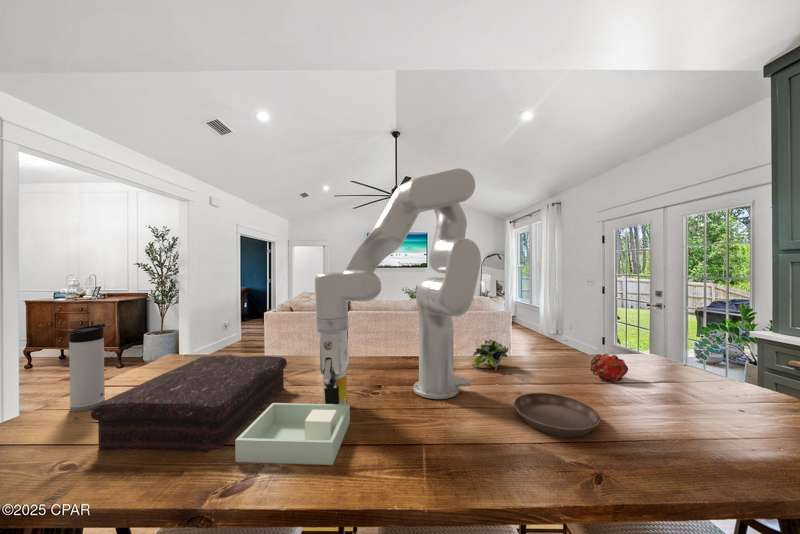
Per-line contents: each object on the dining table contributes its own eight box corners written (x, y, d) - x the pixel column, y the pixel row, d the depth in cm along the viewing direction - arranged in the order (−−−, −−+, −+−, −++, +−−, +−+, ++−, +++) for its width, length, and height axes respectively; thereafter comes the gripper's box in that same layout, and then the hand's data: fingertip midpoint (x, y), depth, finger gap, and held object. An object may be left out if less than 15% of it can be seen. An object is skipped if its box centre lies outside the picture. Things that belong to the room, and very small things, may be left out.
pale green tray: (349, 424, 74) (349, 404, 74) (332, 467, 58) (332, 442, 58) (272, 422, 74) (272, 402, 74) (235, 465, 59) (235, 440, 59)
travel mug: (111, 403, 85) (110, 324, 84) (77, 414, 79) (76, 329, 78) (98, 399, 87) (97, 322, 87) (65, 409, 81) (63, 327, 81)
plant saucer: (615, 446, 66) (615, 431, 66) (521, 437, 69) (521, 423, 69) (583, 407, 83) (583, 395, 83) (509, 402, 86) (509, 390, 86)
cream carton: (336, 434, 68) (336, 409, 68) (330, 447, 63) (330, 421, 63) (312, 433, 69) (312, 409, 69) (304, 447, 64) (304, 421, 64)
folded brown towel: (220, 457, 62) (219, 404, 62) (88, 454, 63) (87, 401, 63) (288, 387, 96) (288, 353, 96) (201, 386, 97) (201, 352, 97)
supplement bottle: (351, 406, 80) (350, 364, 80) (330, 413, 77) (329, 369, 76) (340, 398, 85) (338, 359, 84) (320, 405, 81) (318, 364, 81)
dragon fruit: (586, 383, 103) (623, 388, 104) (603, 375, 96) (642, 380, 97) (580, 356, 108) (615, 361, 109) (596, 347, 101) (633, 352, 102)
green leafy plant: (489, 379, 117) (506, 350, 119) (502, 385, 106) (520, 352, 109) (463, 361, 117) (480, 332, 120) (472, 365, 107) (491, 333, 109)
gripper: (340, 331, 71) (343, 415, 72) (354, 317, 88) (357, 384, 89) (305, 332, 72) (309, 415, 72) (326, 317, 89) (329, 384, 89)
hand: (335, 397), depth 81 cm, fingers closed on supplement bottle, 5 cm apart
